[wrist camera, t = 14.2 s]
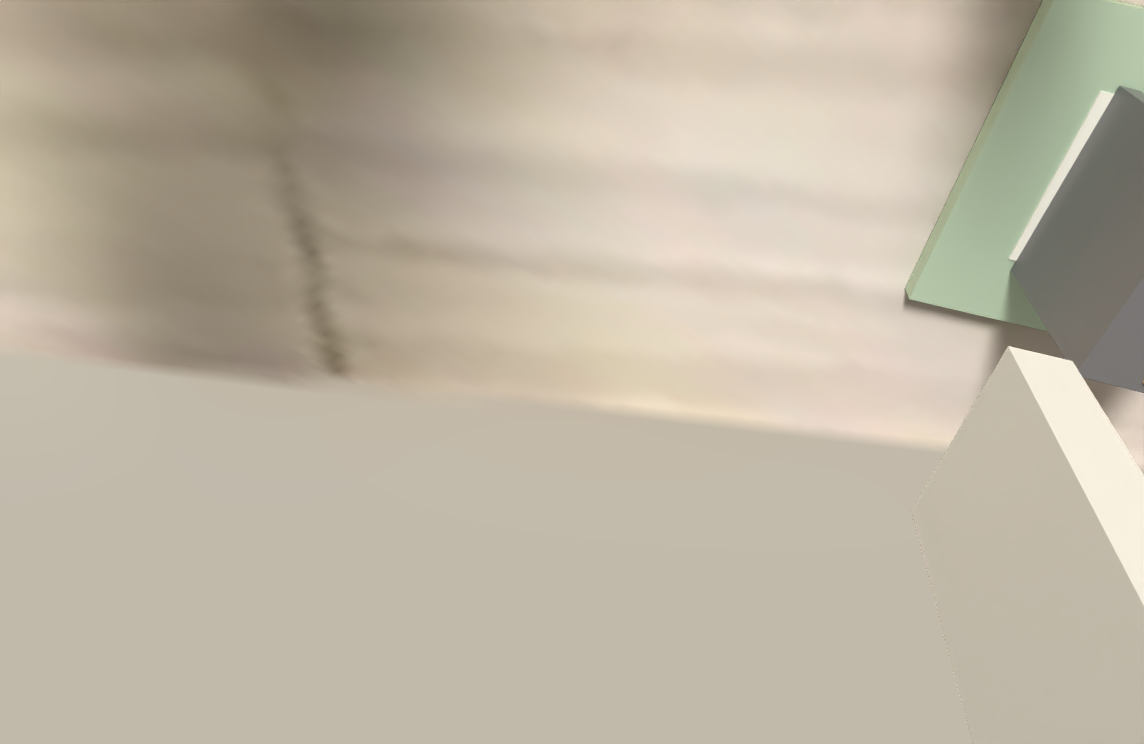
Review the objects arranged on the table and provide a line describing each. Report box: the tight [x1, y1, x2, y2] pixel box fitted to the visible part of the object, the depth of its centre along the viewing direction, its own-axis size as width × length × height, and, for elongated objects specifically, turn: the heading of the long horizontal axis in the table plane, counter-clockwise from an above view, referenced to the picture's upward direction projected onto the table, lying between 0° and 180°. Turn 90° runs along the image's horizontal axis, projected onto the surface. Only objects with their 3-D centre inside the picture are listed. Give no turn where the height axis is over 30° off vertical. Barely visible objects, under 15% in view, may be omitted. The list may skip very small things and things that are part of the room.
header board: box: [905, 0, 1144, 331], centre depth 33 cm, size 13×12×4 cm
